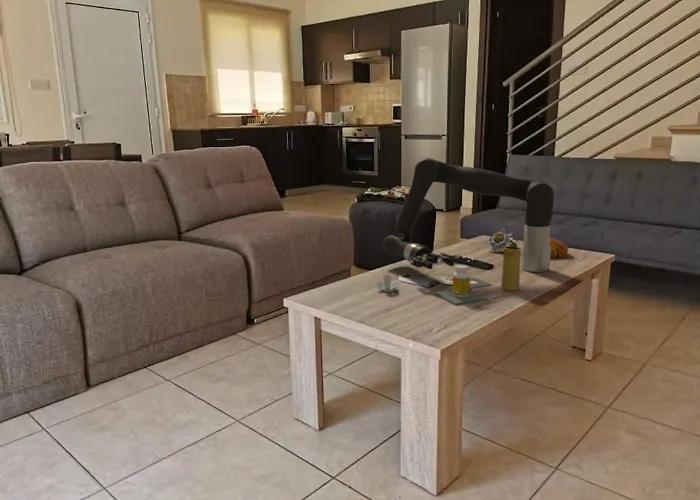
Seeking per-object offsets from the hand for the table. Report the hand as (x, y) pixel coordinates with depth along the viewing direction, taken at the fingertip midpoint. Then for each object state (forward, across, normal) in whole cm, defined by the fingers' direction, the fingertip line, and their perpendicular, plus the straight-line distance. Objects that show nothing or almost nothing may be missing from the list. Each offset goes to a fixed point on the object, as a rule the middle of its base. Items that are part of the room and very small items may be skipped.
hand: (442, 264), depth 185 cm
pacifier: (-6, -18, +8) cm, 20 cm away
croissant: (-19, +66, +9) cm, 69 cm away
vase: (+11, +20, +8) cm, 24 cm away
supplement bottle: (+11, 0, +8) cm, 13 cm away
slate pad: (+11, 0, +8) cm, 14 cm away
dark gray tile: (0, +12, +8) cm, 14 cm away
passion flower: (-33, +52, +8) cm, 63 cm away
